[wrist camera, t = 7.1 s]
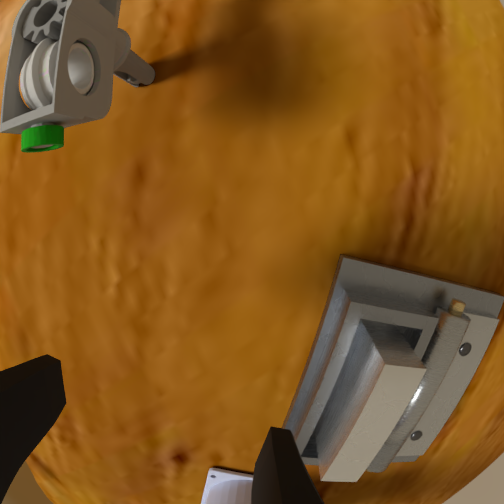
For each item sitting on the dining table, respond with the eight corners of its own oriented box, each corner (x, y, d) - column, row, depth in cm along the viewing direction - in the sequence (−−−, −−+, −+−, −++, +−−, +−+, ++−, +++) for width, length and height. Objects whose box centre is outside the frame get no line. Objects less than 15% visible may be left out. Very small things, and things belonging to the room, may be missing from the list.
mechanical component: (169, 5, 15) (100, -87, 5) (166, 155, 17) (56, 137, 7) (126, 15, 15) (42, -59, 5) (121, 160, 17) (-4, 156, 8)
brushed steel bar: (346, 431, 20) (357, 481, 15) (314, 428, 20) (320, 480, 15) (396, 325, 17) (427, 369, 13) (360, 319, 17) (385, 364, 13)
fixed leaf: (412, 455, 21) (422, 479, 18) (273, 447, 21) (272, 477, 18) (498, 293, 17) (524, 309, 14) (340, 253, 18) (353, 269, 14)
